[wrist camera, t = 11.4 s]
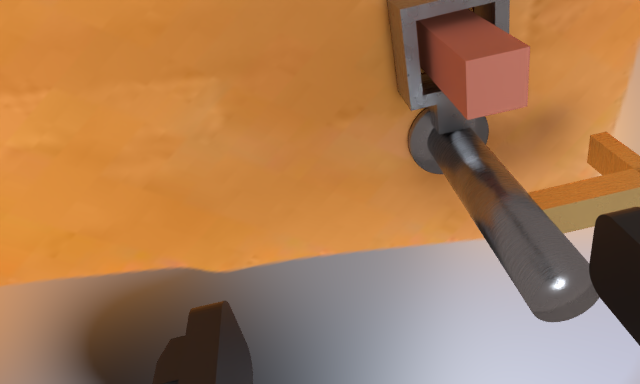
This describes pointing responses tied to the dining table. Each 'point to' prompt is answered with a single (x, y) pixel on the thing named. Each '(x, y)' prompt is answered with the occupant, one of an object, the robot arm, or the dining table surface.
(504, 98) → the red rectangular block
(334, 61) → the dining table surface
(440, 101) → the grey stand
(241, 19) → the dining table surface
